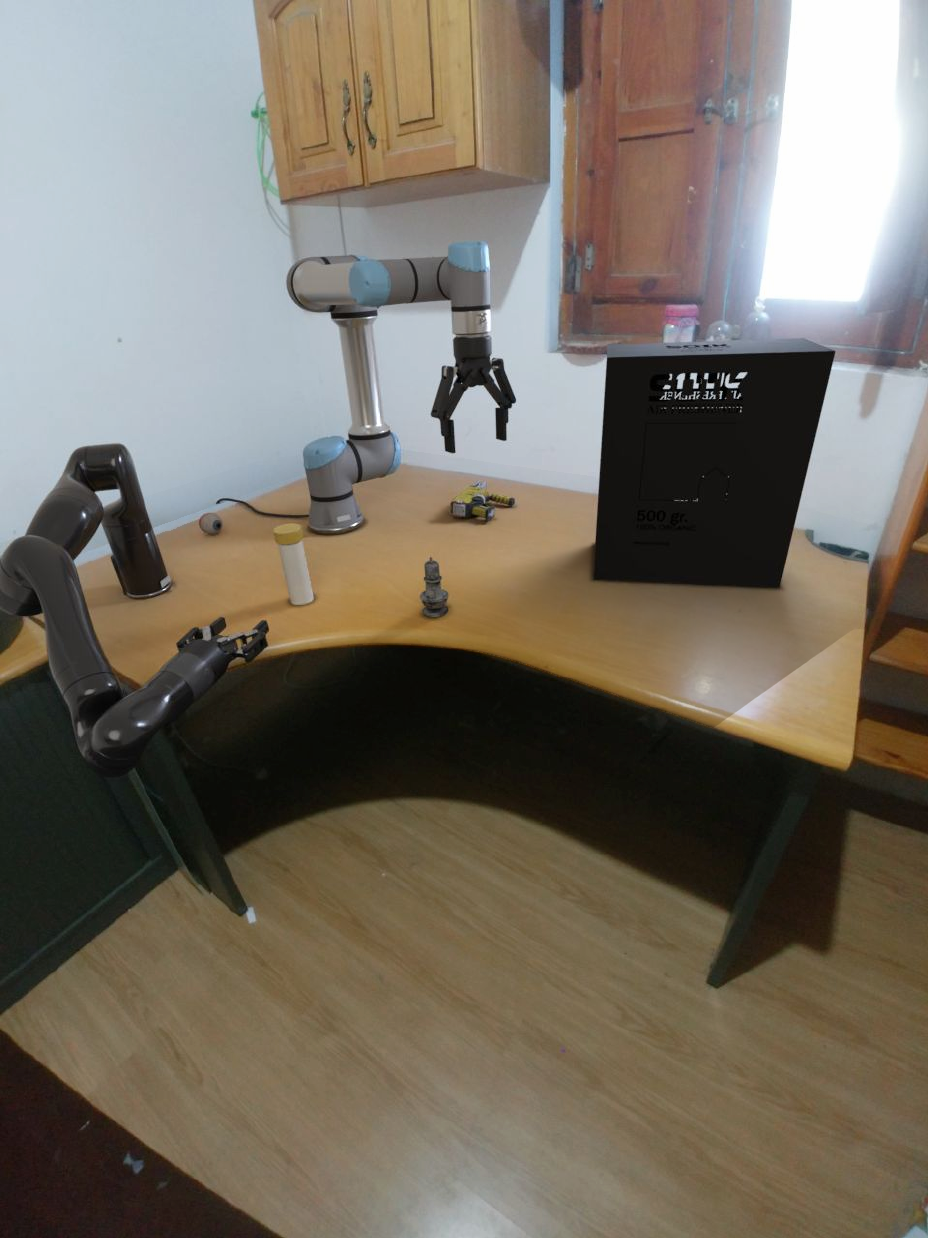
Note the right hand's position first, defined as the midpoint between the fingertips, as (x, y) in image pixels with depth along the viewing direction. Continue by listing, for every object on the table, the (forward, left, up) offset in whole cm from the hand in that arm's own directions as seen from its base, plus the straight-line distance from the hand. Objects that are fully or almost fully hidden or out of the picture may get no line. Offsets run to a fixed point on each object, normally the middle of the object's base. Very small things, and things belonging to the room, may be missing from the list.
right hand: (476, 445), depth 127 cm
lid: (-13, -39, -12) cm, 43 cm away
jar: (-13, -39, -28) cm, 50 cm away
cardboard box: (+30, +34, -28) cm, 53 cm away
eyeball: (-67, -42, -28) cm, 84 cm away
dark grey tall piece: (+11, -20, -28) cm, 36 cm away
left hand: (+1, -55, -21) cm, 59 cm away
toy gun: (-30, +26, -28) cm, 49 cm away
